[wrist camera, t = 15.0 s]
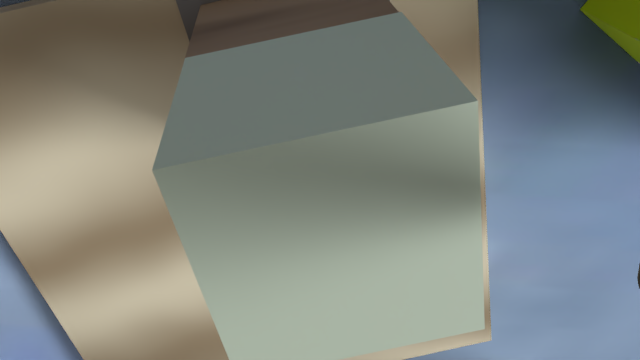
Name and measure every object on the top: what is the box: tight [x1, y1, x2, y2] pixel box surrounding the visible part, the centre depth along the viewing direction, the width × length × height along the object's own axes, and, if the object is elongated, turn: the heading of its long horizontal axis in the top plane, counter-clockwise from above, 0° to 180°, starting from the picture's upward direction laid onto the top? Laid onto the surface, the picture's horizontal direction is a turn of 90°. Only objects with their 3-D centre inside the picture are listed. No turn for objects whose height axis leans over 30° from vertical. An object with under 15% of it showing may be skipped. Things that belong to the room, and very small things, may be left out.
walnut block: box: [185, 0, 398, 58], centre depth 16 cm, size 5×5×5 cm
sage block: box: [152, 12, 485, 360], centre depth 12 cm, size 5×5×5 cm
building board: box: [0, 0, 491, 360], centre depth 22 cm, size 19×18×1 cm
